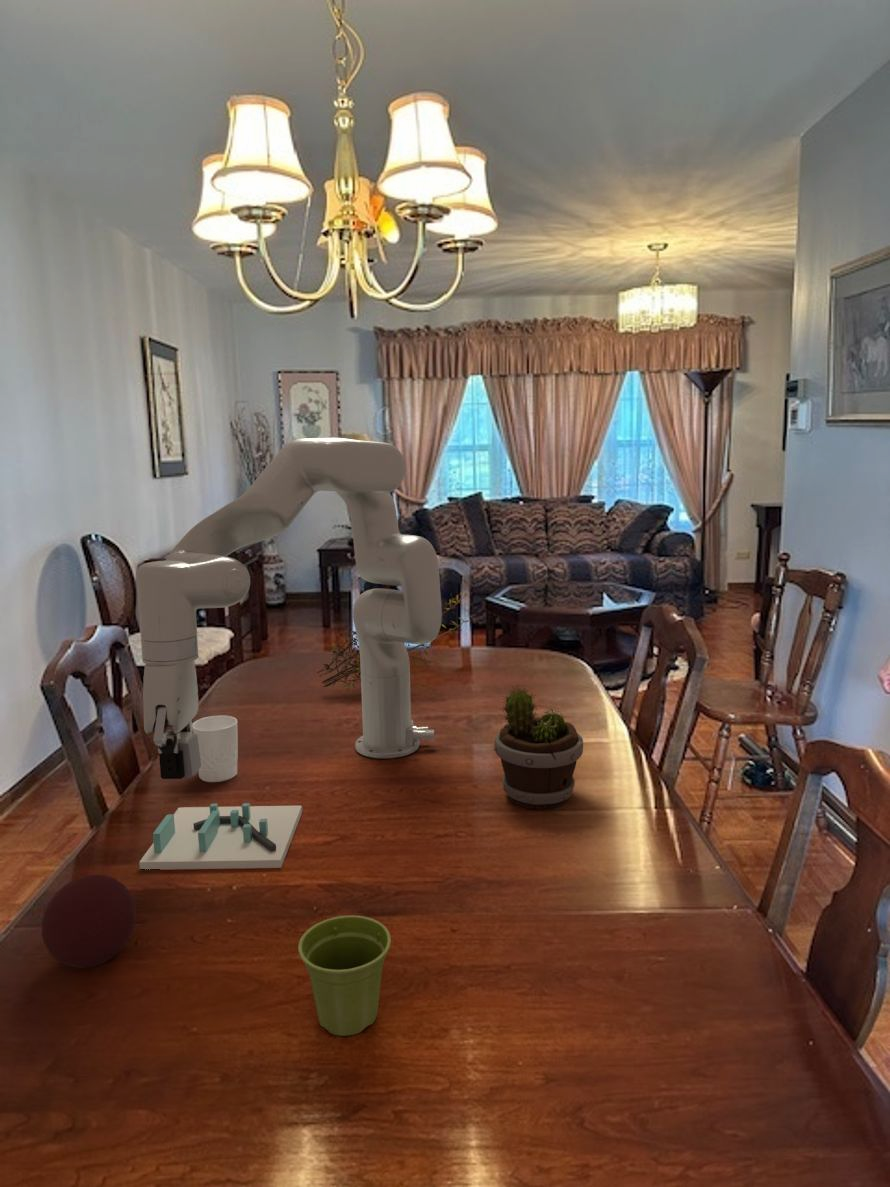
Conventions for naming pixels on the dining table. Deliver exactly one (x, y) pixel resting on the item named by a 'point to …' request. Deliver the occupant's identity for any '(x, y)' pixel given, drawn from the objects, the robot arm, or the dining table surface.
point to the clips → (235, 821)
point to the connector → (189, 753)
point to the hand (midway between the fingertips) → (178, 770)
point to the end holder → (168, 830)
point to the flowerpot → (536, 753)
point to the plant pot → (345, 970)
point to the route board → (226, 841)
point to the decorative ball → (88, 921)
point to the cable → (242, 821)
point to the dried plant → (359, 653)
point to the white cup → (217, 747)
